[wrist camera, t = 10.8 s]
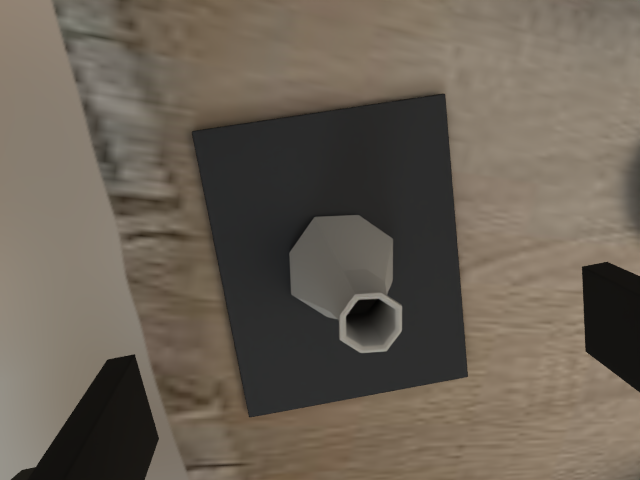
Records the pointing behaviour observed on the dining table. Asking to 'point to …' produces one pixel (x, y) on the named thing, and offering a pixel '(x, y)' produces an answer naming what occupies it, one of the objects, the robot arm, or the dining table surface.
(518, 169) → the dining table surface
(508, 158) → the dining table surface
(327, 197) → the placemat
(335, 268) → the flask
